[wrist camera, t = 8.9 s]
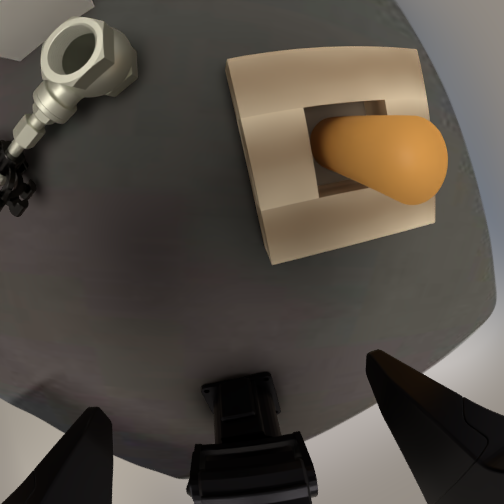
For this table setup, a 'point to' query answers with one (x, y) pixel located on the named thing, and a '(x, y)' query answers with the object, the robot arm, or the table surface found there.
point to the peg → (384, 154)
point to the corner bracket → (33, 23)
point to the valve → (65, 92)
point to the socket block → (299, 149)
